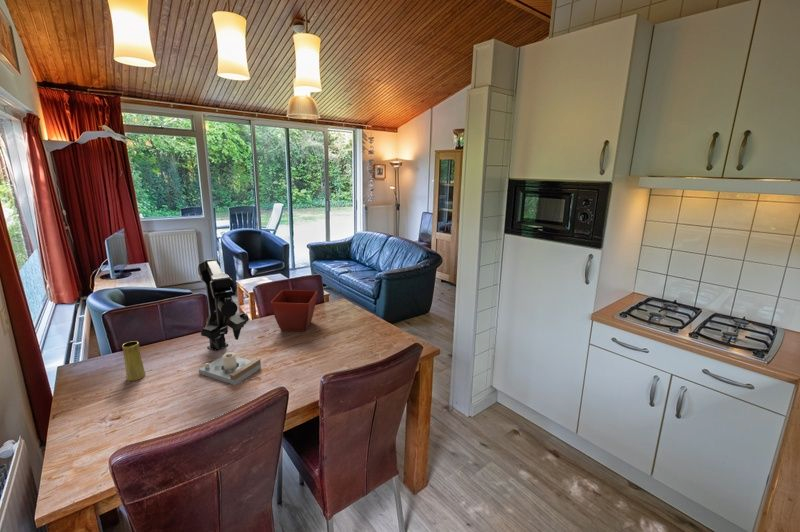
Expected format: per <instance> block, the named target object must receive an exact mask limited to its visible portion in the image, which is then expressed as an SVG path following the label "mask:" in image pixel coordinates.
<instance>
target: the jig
mask: <svg viewBox="0 0 800 532" xmlns="http://www.w3.org/2000/svg"><path fill="white" fill-rule="evenodd" d="M226 353H230V352H229V351H226V352H224V354H226ZM236 362H237V368H236V369H234V370H229V371H225V370H224V368H223V359H222V356H220V357H218V358H217V359H215V360H213V361H211V362H206V363H204V366H202V367H200V368H198V373H199V374H200V375H202V376H206V377H208V378H211V379H215V380H218V381H222V382H225V383H228V384H231V385H233V386H235V385H237V384H238V383H240V382H242V381H243V380H245V379H246V378H248V377H249V376H251V375H252V374H255V372H257V371H258V370H260V369H261V368H262V365H261V364H262V363H261V362H262V361H261V359H260V358H257V357H256V358H255V359H253V360H249V359H245V358H242V357H239V356H236Z"/></svg>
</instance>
